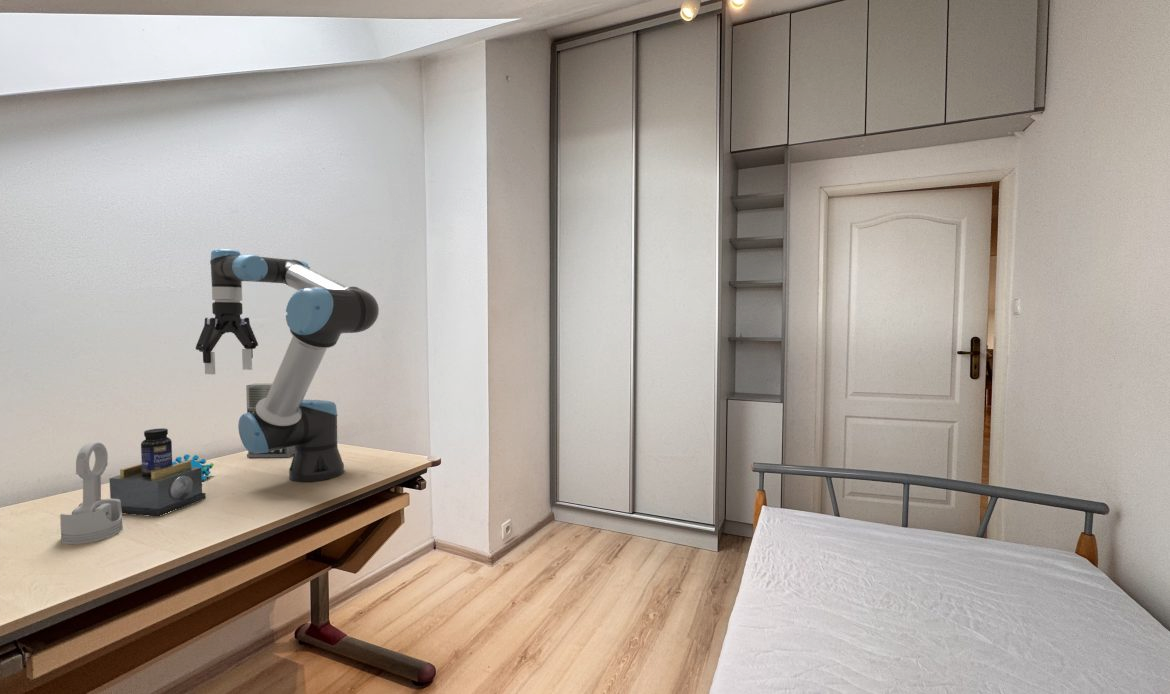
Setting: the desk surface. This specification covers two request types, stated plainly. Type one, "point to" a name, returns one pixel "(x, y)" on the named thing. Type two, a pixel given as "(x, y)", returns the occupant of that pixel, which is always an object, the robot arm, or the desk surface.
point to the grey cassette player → (253, 397)
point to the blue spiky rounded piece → (197, 465)
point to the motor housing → (157, 489)
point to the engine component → (91, 503)
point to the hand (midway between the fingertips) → (229, 371)
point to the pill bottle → (156, 450)
